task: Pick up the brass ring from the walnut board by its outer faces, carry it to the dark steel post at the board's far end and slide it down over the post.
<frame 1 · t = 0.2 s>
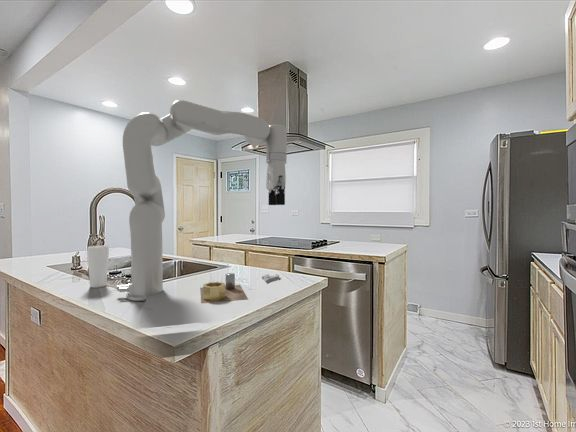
hand: (276, 204, 114), 31 cm above the table, tool pointing down, fingers open, 9 cm apart
adjustable wrench: (260, 285, 119), on the table
walnut board: (222, 297, 100), on the table
drinking glass: (98, 286, 113), on the table
brass ring: (214, 297, 95), point 1 cm above the table, touching walnut board
steel post: (230, 292, 106), resting on walnut board
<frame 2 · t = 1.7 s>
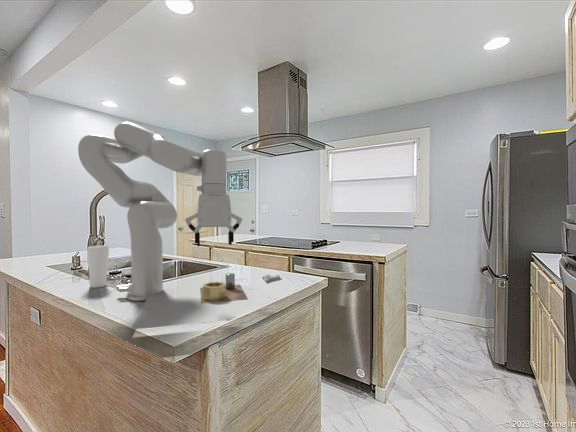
hand: (214, 245, 95), 18 cm above the table, tool pointing down, fingers open, 9 cm apart
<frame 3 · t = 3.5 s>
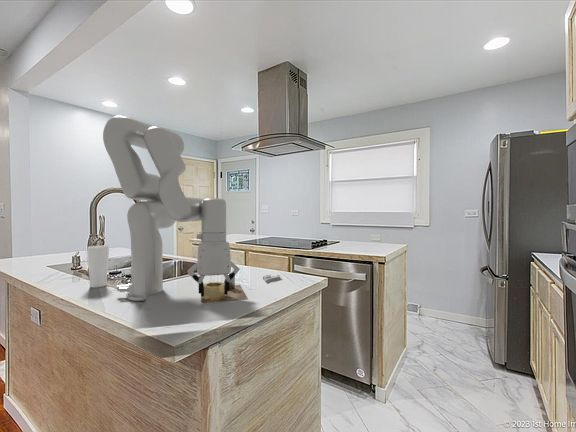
hand: (214, 294, 95), 3 cm above the table, tool pointing down, fingers closed on brass ring, 6 cm apart
brass ring: (214, 297, 95), point 2 cm above the table, touching gripper, walnut board
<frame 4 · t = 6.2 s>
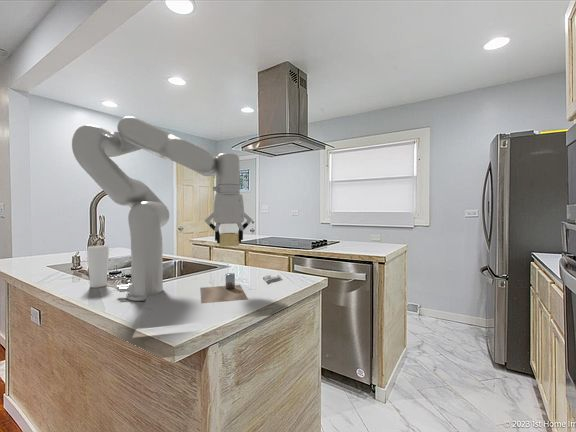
hand: (229, 242, 104), 18 cm above the table, tool pointing down, fingers closed on brass ring, 6 cm apart
brass ring: (229, 245, 104), point 17 cm above the table, touching gripper
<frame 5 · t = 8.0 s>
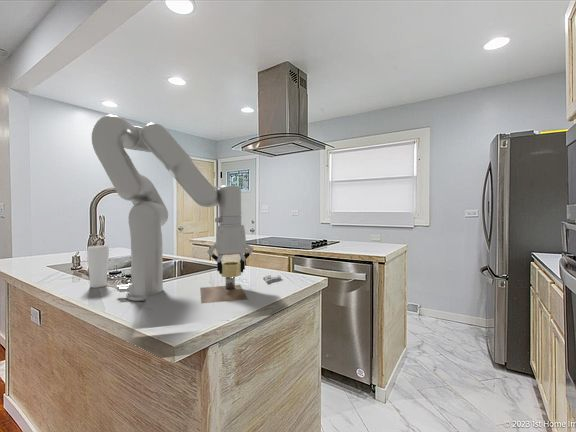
hand: (231, 272, 106), 7 cm above the table, tool pointing down, fingers closed on brass ring, 6 cm apart
brass ring: (231, 274, 106), point 6 cm above the table, touching gripper
when the fingers open (4 cm above the table, at t = 9.1 s): brass ring drops 1 cm, resting on walnut board.
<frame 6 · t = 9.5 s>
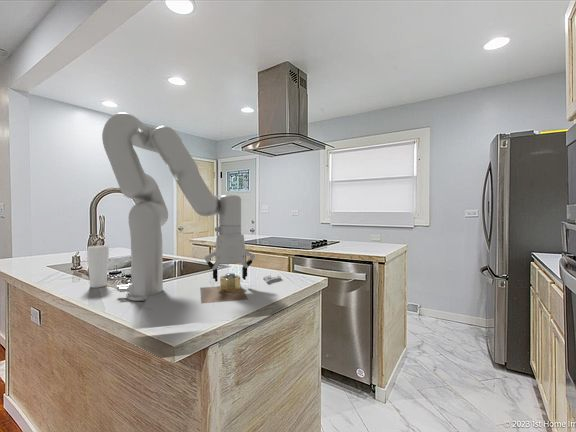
hand: (230, 279, 106), 5 cm above the table, tool pointing down, fingers open, 9 cm apart
brass ring: (230, 288, 106), point 1 cm above the table, touching walnut board
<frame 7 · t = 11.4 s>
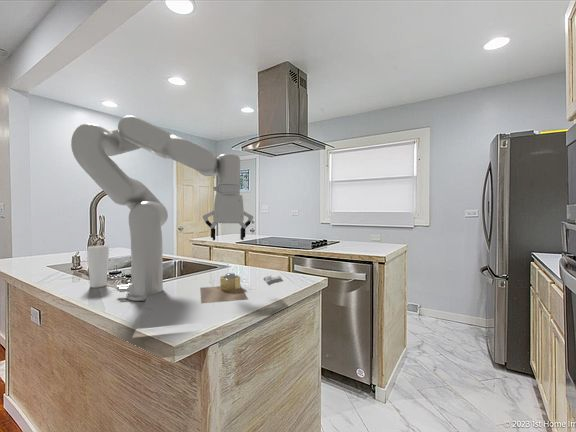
hand: (228, 239, 106), 18 cm above the table, tool pointing down, fingers open, 9 cm apart
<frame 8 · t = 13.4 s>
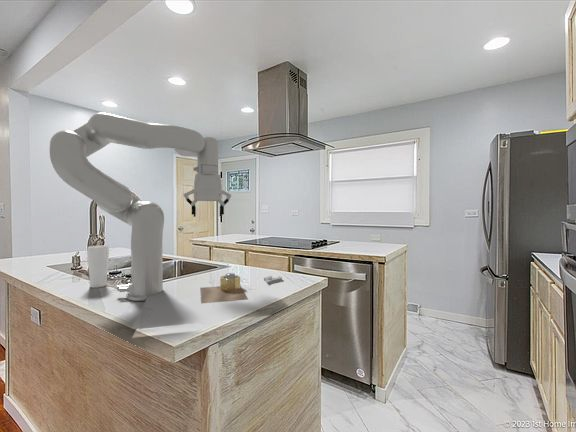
hand: (207, 216, 114), 26 cm above the table, tool pointing down, fingers open, 9 cm apart
at the end: brass ring 0.0 cm from the steel post (horizontally); brass ring point 1.5 cm above the table; the gripper is holding nothing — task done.
